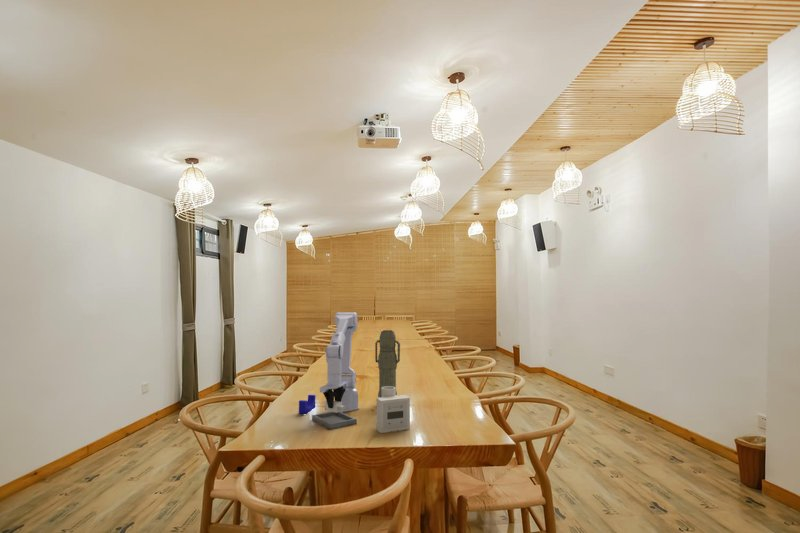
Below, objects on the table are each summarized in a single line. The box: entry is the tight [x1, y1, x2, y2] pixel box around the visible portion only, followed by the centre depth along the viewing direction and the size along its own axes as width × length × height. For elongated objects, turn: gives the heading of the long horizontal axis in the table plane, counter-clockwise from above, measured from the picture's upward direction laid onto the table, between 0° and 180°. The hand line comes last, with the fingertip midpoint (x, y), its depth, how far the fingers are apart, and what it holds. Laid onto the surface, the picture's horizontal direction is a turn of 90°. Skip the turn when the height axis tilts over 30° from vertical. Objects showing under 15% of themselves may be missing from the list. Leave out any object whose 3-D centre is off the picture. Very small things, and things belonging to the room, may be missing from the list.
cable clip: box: [298, 394, 316, 415], centre depth 200 cm, size 12×4×6 cm, turn 170°
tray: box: [311, 411, 358, 430], centre depth 183 cm, size 12×16×2 cm
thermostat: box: [376, 386, 411, 434], centre depth 178 cm, size 12×14×15 cm
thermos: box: [374, 329, 401, 398], centre depth 210 cm, size 9×12×35 cm
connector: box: [324, 399, 346, 413], centre depth 183 cm, size 10×4×4 cm, turn 54°
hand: (334, 406), depth 183 cm, fingers closed on connector, 3 cm apart
